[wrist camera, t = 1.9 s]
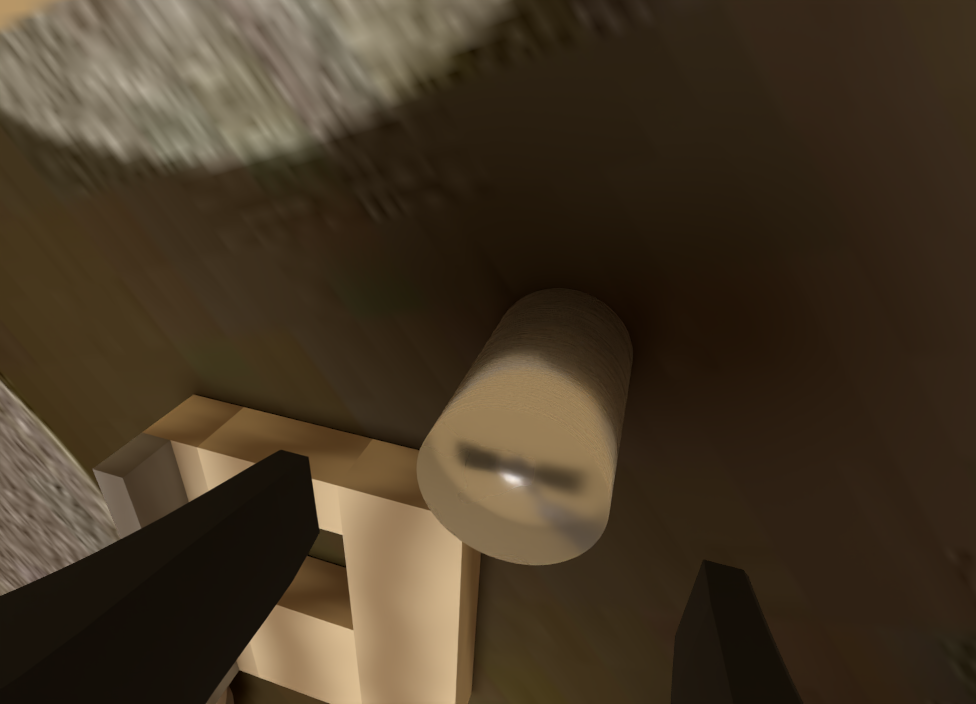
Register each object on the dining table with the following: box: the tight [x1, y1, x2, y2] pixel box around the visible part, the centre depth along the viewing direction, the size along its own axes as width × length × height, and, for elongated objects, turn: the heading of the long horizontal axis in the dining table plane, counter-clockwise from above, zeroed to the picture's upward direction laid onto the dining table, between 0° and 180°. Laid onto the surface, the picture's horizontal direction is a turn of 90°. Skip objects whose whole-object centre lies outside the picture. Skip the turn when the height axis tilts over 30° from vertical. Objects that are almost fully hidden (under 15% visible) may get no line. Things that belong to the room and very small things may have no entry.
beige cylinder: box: [416, 288, 633, 565], centre depth 14 cm, size 4×4×6 cm
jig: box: [93, 395, 481, 704], centre depth 22 cm, size 12×14×4 cm
